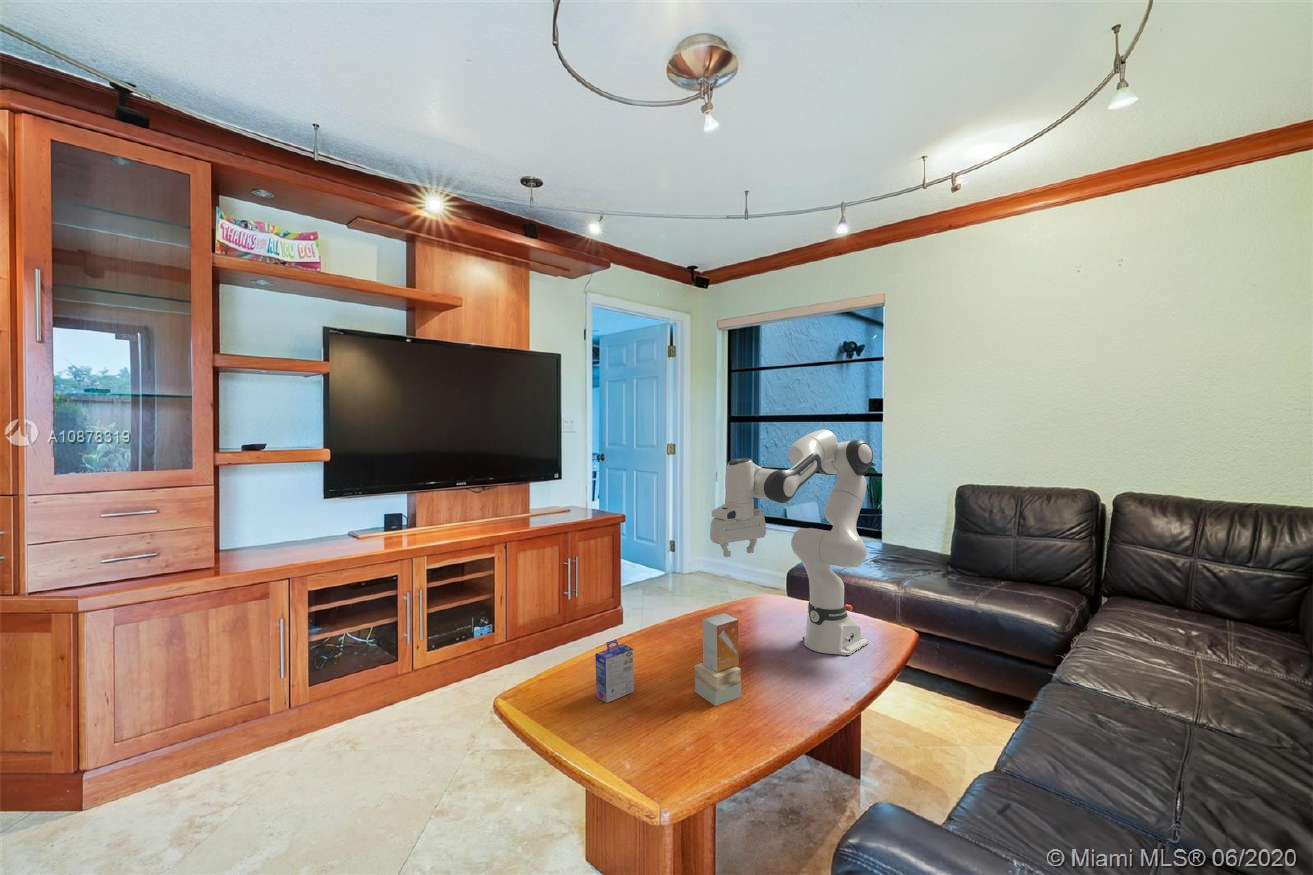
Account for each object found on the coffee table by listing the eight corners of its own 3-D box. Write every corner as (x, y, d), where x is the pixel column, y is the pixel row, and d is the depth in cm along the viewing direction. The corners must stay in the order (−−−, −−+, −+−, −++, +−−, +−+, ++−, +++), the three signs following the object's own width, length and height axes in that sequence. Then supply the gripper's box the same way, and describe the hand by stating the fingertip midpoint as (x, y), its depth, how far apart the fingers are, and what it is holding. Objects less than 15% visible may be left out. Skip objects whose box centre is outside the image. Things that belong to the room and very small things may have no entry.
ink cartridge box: (622, 684, 157) (622, 634, 157) (635, 692, 153) (635, 640, 152) (594, 696, 150) (594, 644, 150) (606, 704, 146) (606, 650, 146)
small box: (717, 673, 148) (716, 625, 147) (702, 664, 153) (701, 618, 152) (739, 665, 152) (738, 618, 152) (724, 656, 158) (723, 612, 157)
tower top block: (718, 671, 158) (718, 657, 158) (740, 683, 151) (740, 668, 151) (694, 679, 153) (694, 665, 153) (716, 692, 145) (716, 677, 145)
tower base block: (720, 684, 158) (720, 671, 158) (741, 698, 150) (741, 683, 150) (695, 693, 153) (695, 679, 153) (715, 707, 146) (715, 692, 146)
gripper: (757, 506, 178) (756, 548, 179) (707, 511, 167) (706, 556, 168) (770, 509, 173) (770, 552, 174) (720, 514, 162) (720, 561, 163)
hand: (738, 554), depth 171 cm, fingers open, 8 cm apart
